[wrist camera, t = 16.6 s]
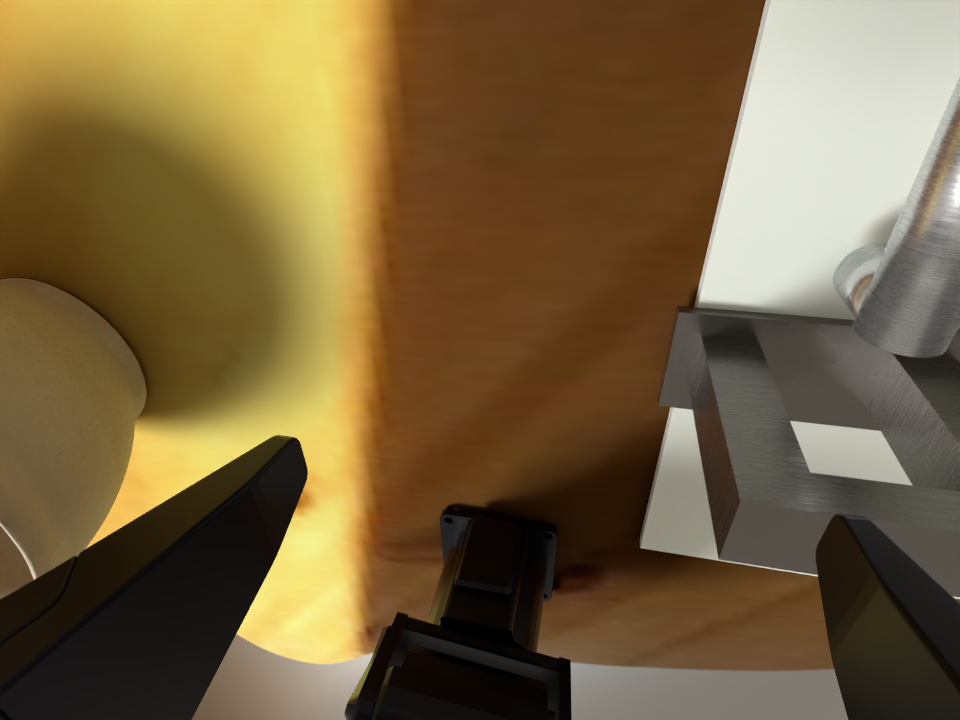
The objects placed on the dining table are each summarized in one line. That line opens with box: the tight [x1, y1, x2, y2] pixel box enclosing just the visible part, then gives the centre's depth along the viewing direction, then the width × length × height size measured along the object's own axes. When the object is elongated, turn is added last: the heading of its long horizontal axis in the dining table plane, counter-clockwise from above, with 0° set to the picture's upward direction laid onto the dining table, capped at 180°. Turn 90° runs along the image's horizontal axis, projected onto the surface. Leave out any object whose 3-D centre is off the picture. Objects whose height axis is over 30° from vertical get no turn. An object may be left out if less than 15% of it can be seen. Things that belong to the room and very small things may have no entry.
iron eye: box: [658, 306, 960, 598], centre depth 17 cm, size 4×10×8 cm, turn 91°
